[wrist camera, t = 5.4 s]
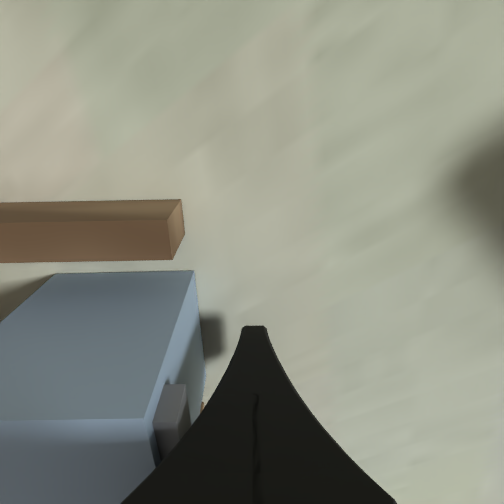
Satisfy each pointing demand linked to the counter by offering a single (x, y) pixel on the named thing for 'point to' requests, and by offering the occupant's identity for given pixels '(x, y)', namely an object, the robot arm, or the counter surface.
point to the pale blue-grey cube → (97, 384)
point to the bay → (90, 231)
